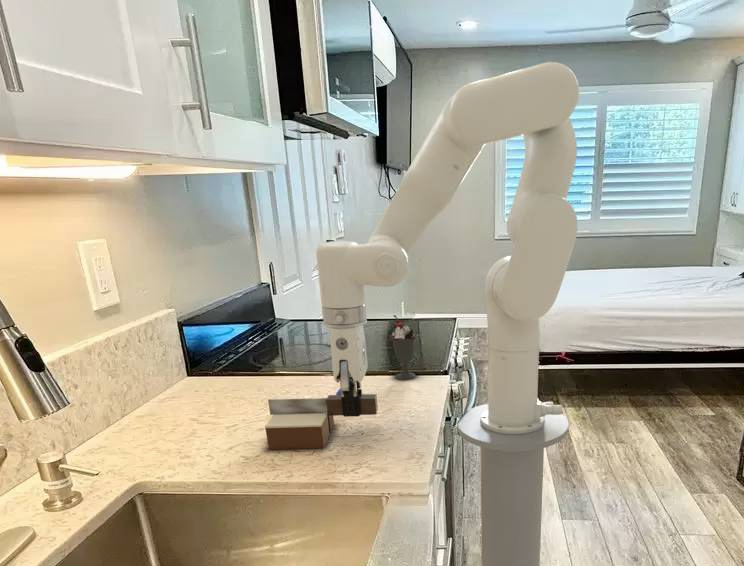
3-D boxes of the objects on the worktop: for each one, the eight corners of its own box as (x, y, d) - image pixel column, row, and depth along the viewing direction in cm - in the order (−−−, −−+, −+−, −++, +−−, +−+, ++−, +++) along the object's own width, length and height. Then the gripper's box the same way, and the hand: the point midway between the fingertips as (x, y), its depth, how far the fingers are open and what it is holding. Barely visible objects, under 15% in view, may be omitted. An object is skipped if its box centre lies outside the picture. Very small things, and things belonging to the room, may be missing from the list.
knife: (377, 409, 108) (376, 394, 106) (376, 414, 105) (375, 398, 104) (272, 412, 108) (269, 396, 106) (268, 416, 105) (266, 400, 104)
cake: (329, 435, 108) (327, 412, 106) (324, 448, 102) (321, 424, 101) (277, 436, 108) (273, 414, 106) (268, 449, 103) (264, 426, 101)
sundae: (391, 373, 142) (387, 313, 136) (418, 371, 142) (415, 311, 137) (391, 381, 136) (387, 319, 130) (419, 379, 136) (416, 317, 130)
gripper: (359, 325, 92) (367, 429, 99) (371, 305, 107) (378, 397, 114) (313, 326, 92) (324, 430, 99) (331, 306, 107) (340, 398, 114)
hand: (353, 411), depth 106 cm, fingers closed on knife, 2 cm apart
